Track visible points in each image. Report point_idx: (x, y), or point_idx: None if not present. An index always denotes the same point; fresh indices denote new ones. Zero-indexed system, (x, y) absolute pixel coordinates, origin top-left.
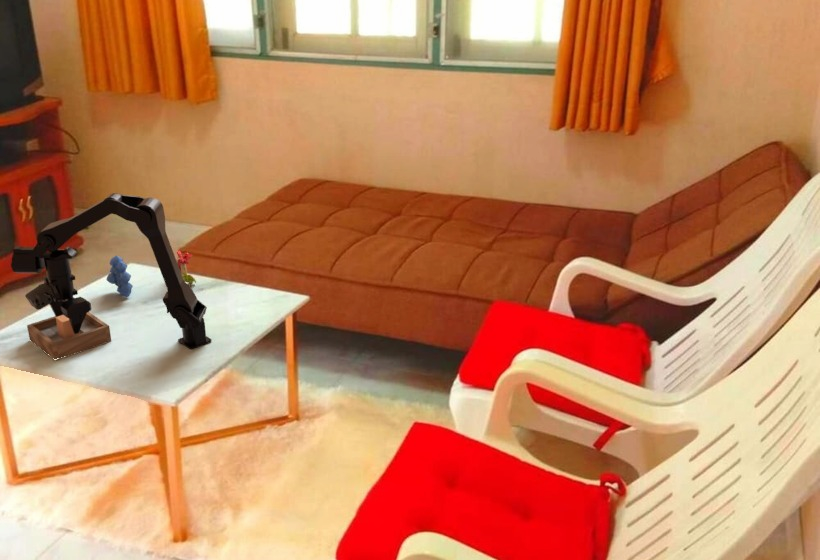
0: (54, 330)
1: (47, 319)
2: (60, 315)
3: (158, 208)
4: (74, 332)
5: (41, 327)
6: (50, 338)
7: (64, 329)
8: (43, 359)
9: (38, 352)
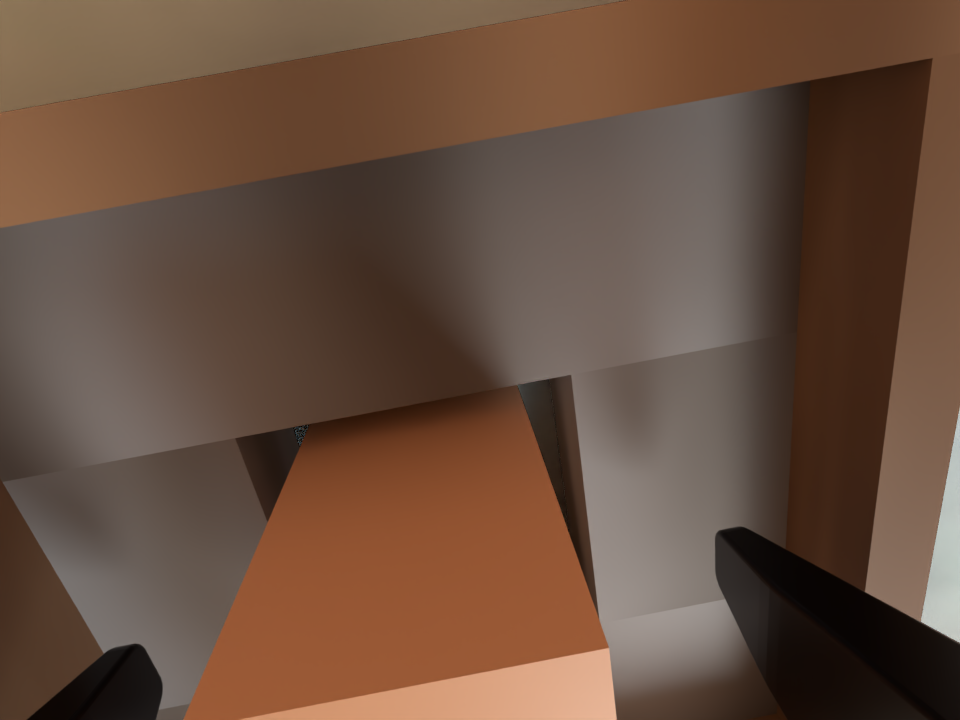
0: (622, 389)
1: (925, 403)
2: (783, 657)
3: None
4: (84, 670)
5: (825, 237)
6: (368, 273)
7: (259, 574)
8: (26, 29)
9: (310, 25)
